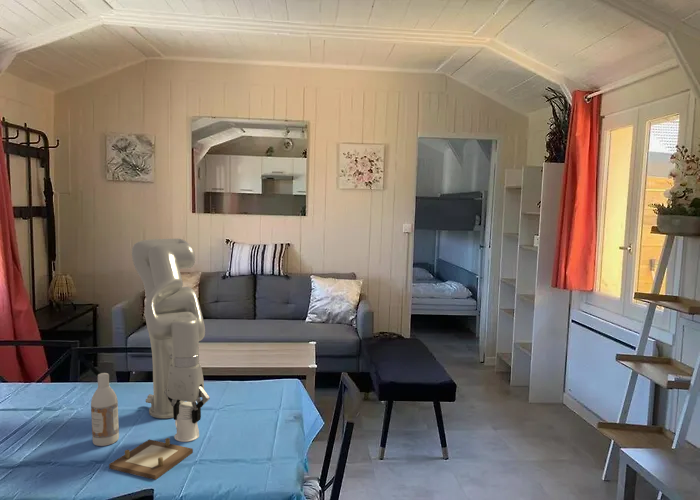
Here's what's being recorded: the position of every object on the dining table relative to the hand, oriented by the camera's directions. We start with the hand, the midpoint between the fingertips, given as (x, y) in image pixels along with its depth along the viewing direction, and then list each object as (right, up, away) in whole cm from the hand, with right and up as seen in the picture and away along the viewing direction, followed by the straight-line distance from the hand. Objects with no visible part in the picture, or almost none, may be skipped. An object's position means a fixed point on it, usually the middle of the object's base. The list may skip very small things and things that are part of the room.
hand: (187, 419), depth 157 cm
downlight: (0, -6, +1) cm, 6 cm away
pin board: (-5, -7, -13) cm, 16 cm away
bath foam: (-23, -6, -3) cm, 24 cm away
